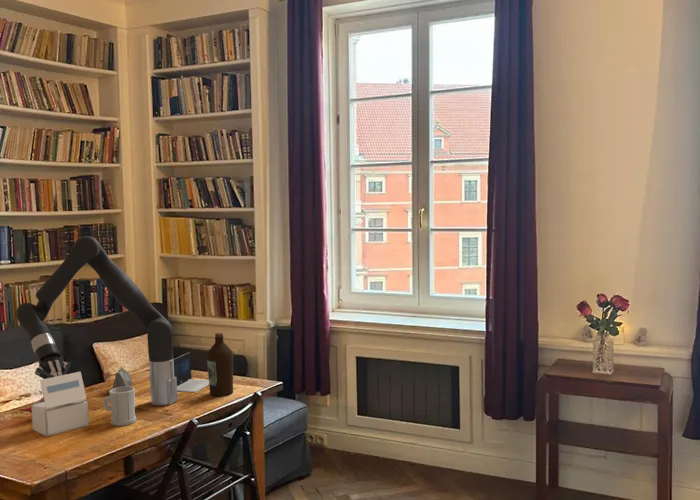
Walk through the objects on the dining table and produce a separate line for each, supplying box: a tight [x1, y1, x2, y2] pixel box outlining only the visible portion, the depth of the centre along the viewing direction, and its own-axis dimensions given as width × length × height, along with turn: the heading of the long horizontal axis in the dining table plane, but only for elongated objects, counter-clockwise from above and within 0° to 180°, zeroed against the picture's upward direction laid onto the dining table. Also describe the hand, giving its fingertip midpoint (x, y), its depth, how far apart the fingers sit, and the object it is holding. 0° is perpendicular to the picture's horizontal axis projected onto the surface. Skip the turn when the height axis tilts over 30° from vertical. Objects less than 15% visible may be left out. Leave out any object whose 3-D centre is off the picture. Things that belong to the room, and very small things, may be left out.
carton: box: [30, 399, 90, 438], centre depth 237 cm, size 12×15×9 cm
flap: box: [39, 371, 87, 409], centre depth 234 cm, size 1×14×10 cm, turn 137°
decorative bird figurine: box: [18, 397, 44, 413], centre depth 247 cm, size 3×18×10 cm, turn 156°
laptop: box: [173, 351, 209, 393], centre depth 287 cm, size 18×12×13 cm
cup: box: [103, 386, 137, 427], centre depth 240 cm, size 10×9×12 cm
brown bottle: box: [206, 332, 234, 397], centre depth 274 cm, size 11×11×25 cm
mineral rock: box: [112, 366, 133, 389], centre depth 285 cm, size 13×11×10 cm
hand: (61, 388), depth 235 cm, fingers closed
